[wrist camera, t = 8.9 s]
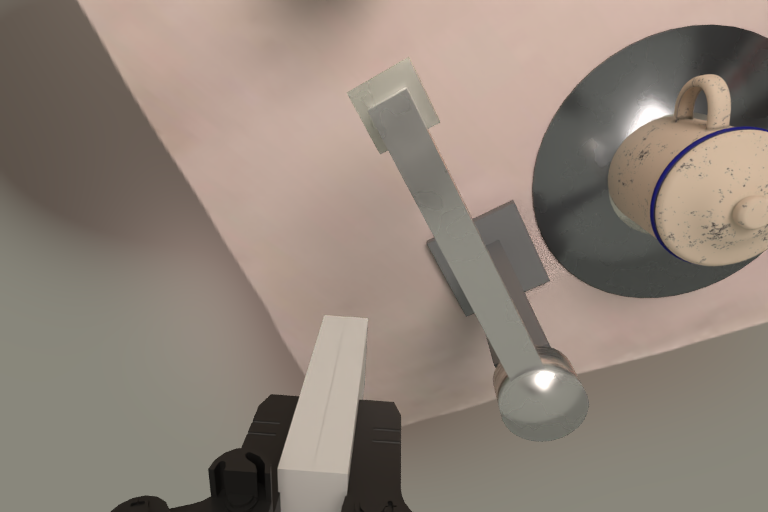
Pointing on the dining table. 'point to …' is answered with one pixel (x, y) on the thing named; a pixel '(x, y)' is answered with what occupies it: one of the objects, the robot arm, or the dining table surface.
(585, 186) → the turntable platter
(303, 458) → the robot arm
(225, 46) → the dining table surface
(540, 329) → the gauge post
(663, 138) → the teacup with lid
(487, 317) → the gauge arm
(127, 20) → the dining table surface
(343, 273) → the dining table surface
